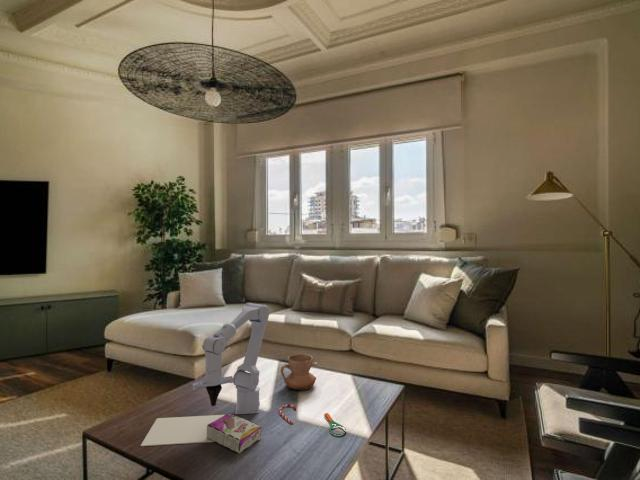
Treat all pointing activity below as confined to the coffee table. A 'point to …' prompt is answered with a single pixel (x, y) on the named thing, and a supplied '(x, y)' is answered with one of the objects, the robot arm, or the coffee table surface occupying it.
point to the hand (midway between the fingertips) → (213, 404)
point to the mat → (179, 430)
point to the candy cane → (283, 414)
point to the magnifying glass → (332, 422)
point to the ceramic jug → (299, 372)
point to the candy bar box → (234, 432)
